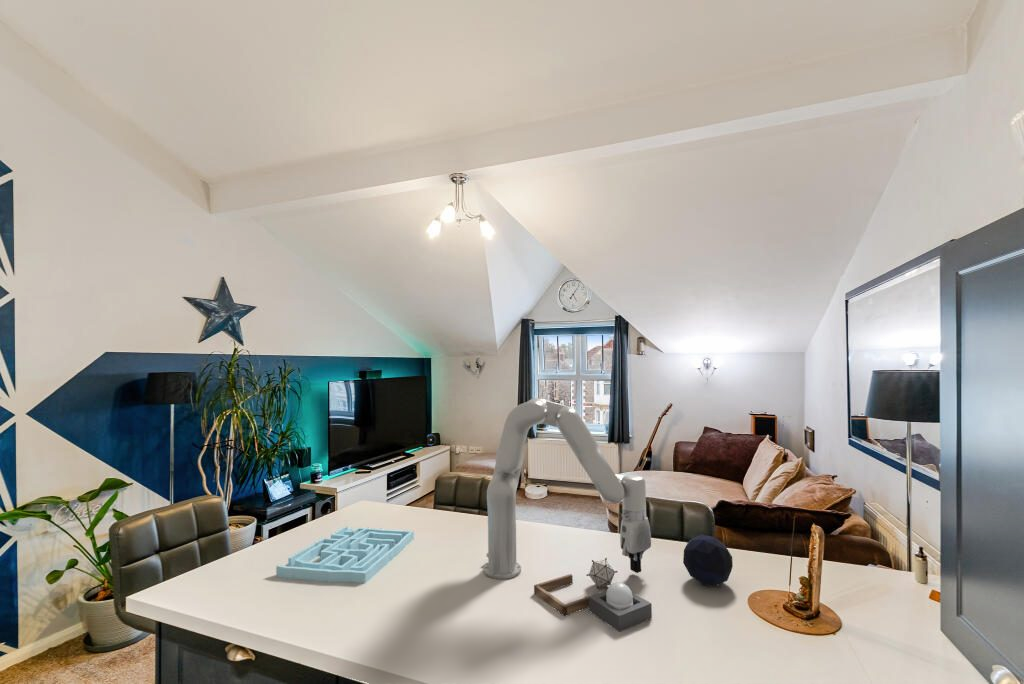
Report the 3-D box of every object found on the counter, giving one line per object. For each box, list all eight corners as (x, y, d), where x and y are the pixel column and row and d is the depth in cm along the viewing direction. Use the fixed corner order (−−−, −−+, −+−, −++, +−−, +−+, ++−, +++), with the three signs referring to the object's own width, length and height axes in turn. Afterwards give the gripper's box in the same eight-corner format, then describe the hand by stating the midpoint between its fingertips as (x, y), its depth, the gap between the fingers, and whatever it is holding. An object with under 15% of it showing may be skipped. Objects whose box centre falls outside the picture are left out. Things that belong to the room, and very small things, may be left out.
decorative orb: (667, 556, 153) (684, 528, 145) (704, 549, 158) (722, 523, 150) (691, 598, 142) (711, 571, 134) (730, 591, 147) (751, 564, 139)
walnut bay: (534, 593, 140) (534, 585, 140) (570, 582, 147) (570, 573, 147) (564, 616, 127) (564, 607, 127) (602, 602, 134) (602, 593, 134)
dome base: (588, 611, 130) (588, 596, 130) (620, 599, 136) (620, 585, 136) (619, 631, 119) (619, 616, 120) (651, 618, 126) (651, 603, 126)
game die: (607, 601, 142) (617, 583, 137) (581, 588, 144) (590, 570, 139) (612, 575, 150) (622, 558, 144) (587, 564, 152) (596, 546, 146)
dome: (601, 608, 129) (600, 581, 129) (620, 600, 133) (619, 575, 133) (619, 620, 123) (618, 592, 123) (638, 612, 126) (638, 585, 127)
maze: (340, 534, 192) (340, 525, 193) (415, 539, 186) (415, 530, 186) (273, 578, 153) (273, 567, 153) (364, 586, 147) (364, 574, 147)
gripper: (626, 521, 146) (627, 581, 145) (658, 513, 153) (660, 569, 152) (609, 515, 152) (610, 572, 151) (641, 507, 160) (643, 561, 159)
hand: (635, 570), depth 152 cm, fingers closed
